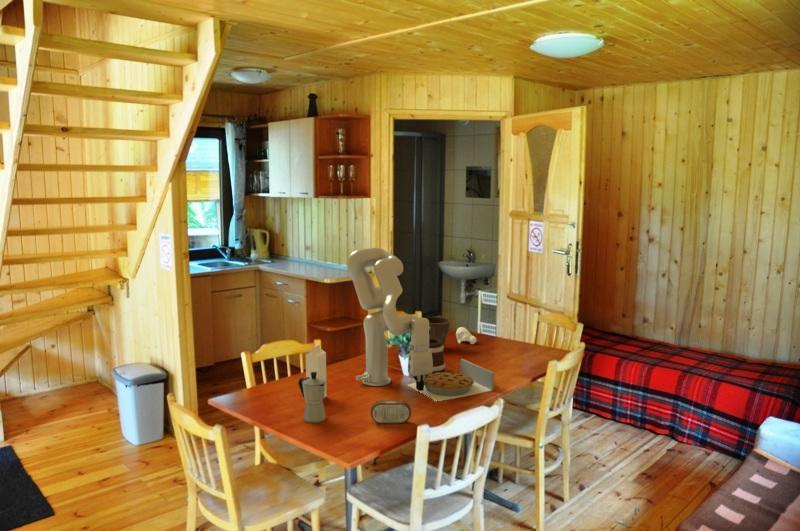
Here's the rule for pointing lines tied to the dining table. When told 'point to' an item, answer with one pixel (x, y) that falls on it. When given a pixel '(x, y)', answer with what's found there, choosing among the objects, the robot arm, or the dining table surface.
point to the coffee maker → (313, 398)
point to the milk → (316, 364)
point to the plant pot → (438, 328)
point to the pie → (448, 383)
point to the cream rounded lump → (464, 335)
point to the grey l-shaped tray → (479, 375)
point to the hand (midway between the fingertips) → (420, 389)
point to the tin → (390, 411)
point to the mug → (437, 355)
